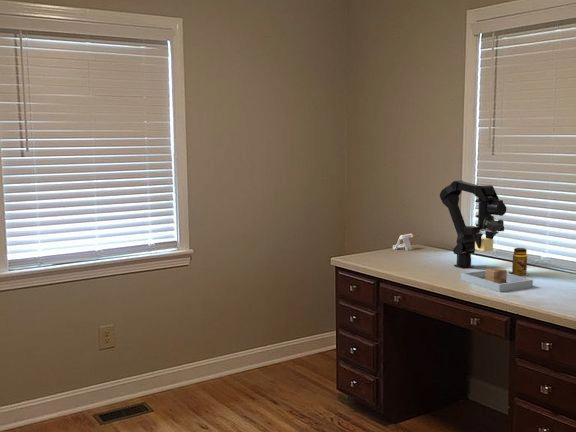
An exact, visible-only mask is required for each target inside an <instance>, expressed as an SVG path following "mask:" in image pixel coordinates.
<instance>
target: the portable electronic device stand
mask: <svg viewBox="0 0 576 432" xmlns="http://www.w3.org/2000/svg"><path fill="white" fill-rule="evenodd" d="M413 237H414V234H413V233H406V234H401V235H399V238H398V239H397V242H396V244H393V245H392V250H399V249H404V248H405V249H404V250H405V251H407V252H408V251H409V250H410V251H412V250H413V247H412V245H411V241H410V238H413ZM401 240H402V241H403V243H401Z"/></svg>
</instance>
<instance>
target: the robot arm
mask: <svg viewBox="0 0 576 432" xmlns="http://www.w3.org/2000/svg"><path fill="white" fill-rule="evenodd" d="M462 192H465V193H470V194H473V195H474V196H475V198H476V197H477V199H476V200H475V201H474V202H475V203H478V208H477V209H478V211H477V212H478V213H477V214H476V215H475V217H476V218H477V223H476V224H475V226H474V225H467V224H466V222H465V219H464V217H463V214H462V212H461V209H460V205H459V201H460V195H461V194H462ZM439 198H440V200H441V202H442V204H443V205H444V206H445V207H446V208H447V209H448V212H449V215H450V217H451V220H452V222H453V226H454V229H455V231H456V234H457V237H456V245H455V246H454V247H453V248H452V252H453V254H454V255H456V264H454V265H453V267H458V268H460V269H467V268H473V267H474V265H472V255H474V254H475V253H476V249H475V242H476V244H477V246H478V248H480V247H481V238H483V235H485V238H488V239H493V240H494V237H495V236H496V235H498V234H499V232H504V231H505V226H504V222H505V221H504V220H503V219H498V220H495V218H494V216H500V217H502V216H504V215H505V214H506V212H507V205H506V204H505V203H504V200H503V199H500V198H499V196H498V194H497V192H496V190H495V188H494V186H493V185H492V184H488V185H486V184H483V185H482V184H475V183H472V182H467V181H464V180H453V181H452V182H451V183H450V184H449V185H447V186H445V187H444V188H442V190H440V193H439ZM482 231H483V232H484V231H485V232H484V233H485V234H484V233H482Z"/></svg>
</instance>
